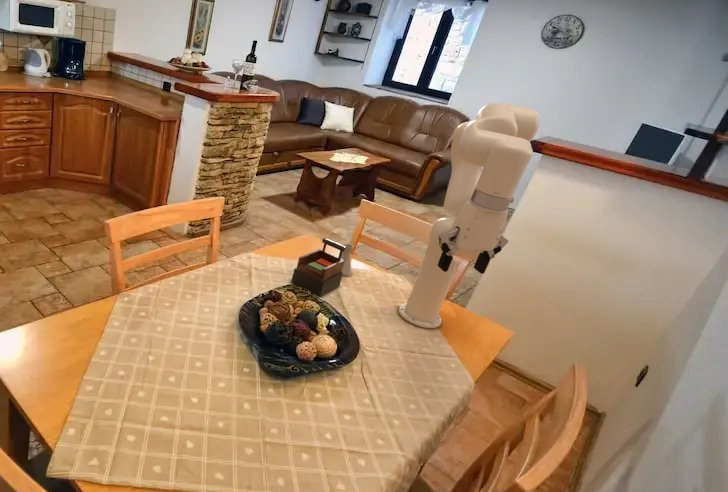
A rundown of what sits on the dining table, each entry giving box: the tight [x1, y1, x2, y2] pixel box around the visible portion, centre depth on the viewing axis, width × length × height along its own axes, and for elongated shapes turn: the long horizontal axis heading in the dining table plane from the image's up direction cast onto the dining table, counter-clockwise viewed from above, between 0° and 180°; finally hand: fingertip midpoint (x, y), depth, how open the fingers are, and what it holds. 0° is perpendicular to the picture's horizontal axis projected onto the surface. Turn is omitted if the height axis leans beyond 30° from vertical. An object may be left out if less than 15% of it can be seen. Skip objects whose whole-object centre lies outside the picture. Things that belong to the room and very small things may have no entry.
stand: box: [290, 267, 344, 298], centre depth 160 cm, size 12×11×5 cm
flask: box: [341, 242, 354, 276], centre depth 171 cm, size 7×7×10 cm
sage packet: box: [307, 262, 326, 273], centre depth 156 cm, size 3×5×2 cm
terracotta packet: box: [315, 258, 333, 267], centre depth 160 cm, size 3×5×2 cm
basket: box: [296, 237, 346, 282], centre depth 157 cm, size 12×10×9 cm
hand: (460, 269), depth 116 cm, fingers open, 9 cm apart
